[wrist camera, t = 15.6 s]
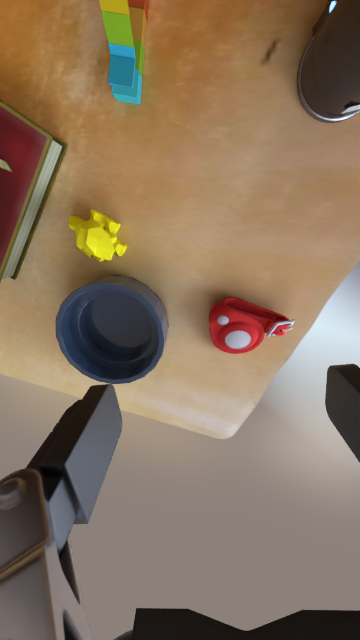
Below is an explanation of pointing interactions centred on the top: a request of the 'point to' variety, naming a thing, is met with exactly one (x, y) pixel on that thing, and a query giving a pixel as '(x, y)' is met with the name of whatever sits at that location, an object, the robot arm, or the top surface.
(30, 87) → the top surface
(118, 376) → the bowl
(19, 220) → the hardcover book
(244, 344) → the tracker holder
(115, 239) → the yellow faceted lump
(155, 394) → the top surface
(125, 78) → the chart
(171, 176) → the top surface
